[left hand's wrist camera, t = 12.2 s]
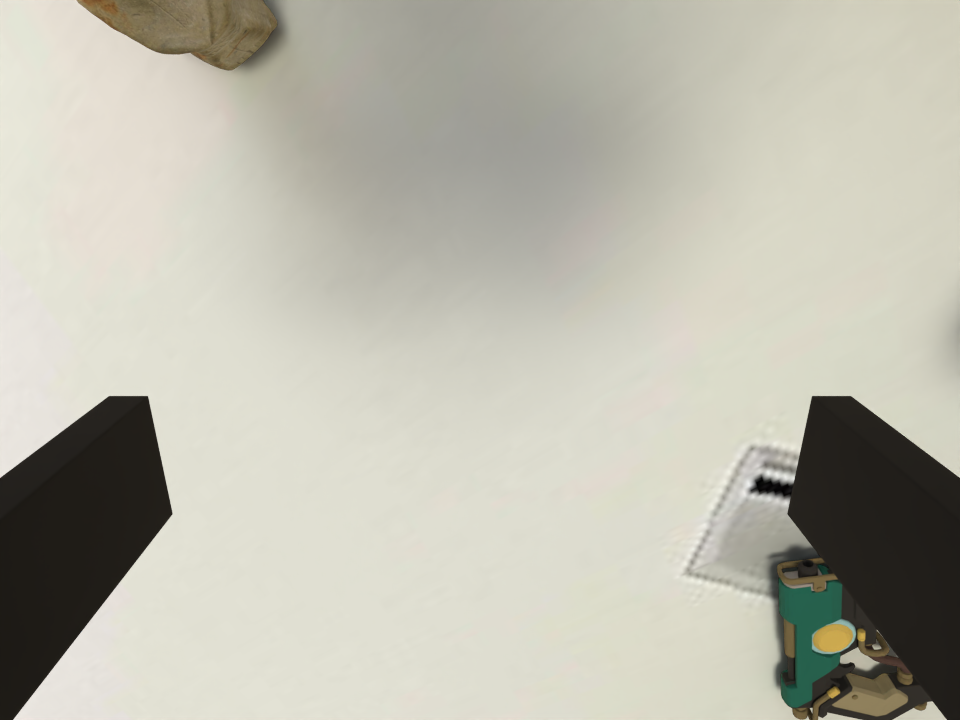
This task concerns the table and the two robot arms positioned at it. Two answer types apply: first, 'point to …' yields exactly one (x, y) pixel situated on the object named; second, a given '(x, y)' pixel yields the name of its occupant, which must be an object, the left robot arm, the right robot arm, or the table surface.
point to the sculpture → (191, 26)
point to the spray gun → (835, 651)
